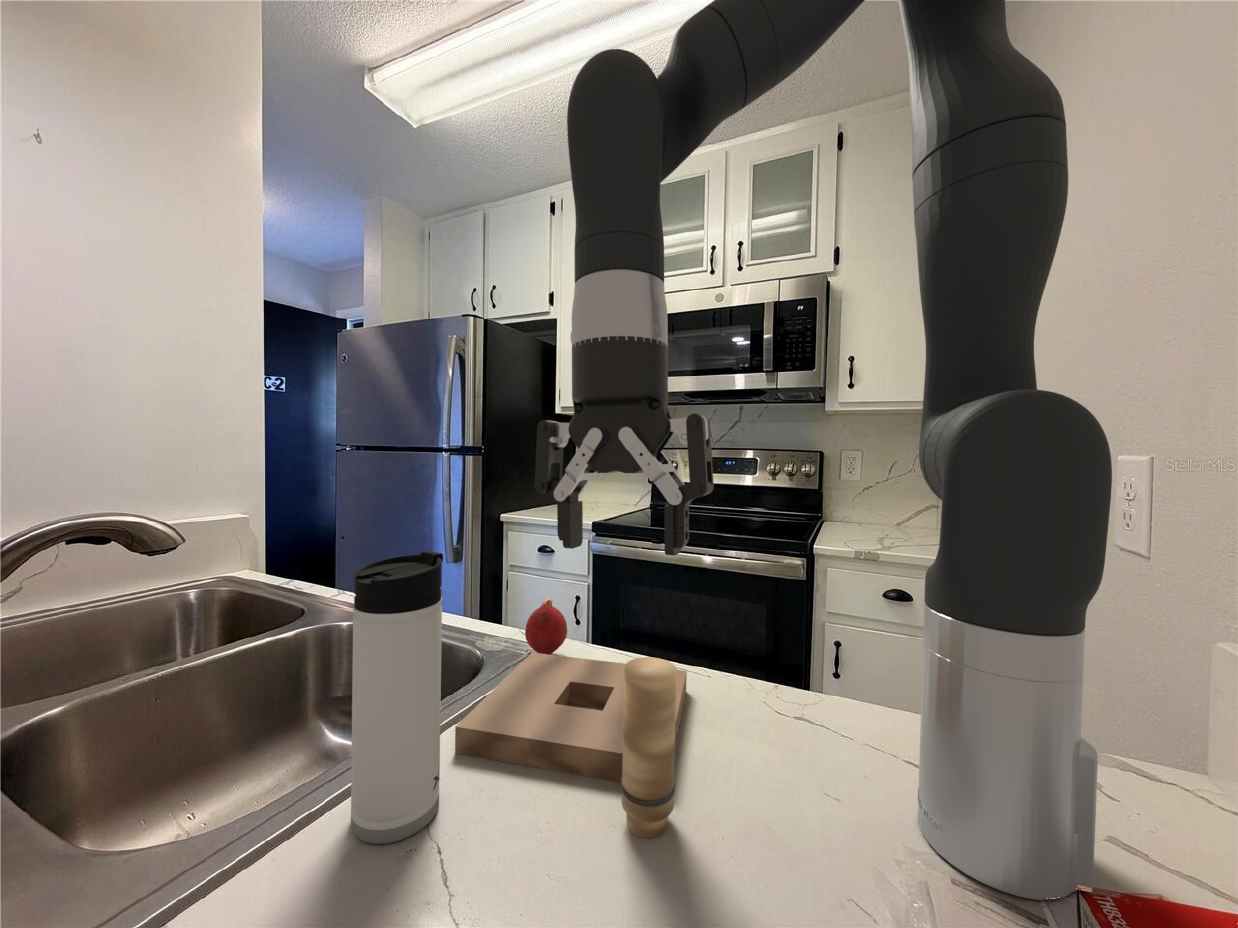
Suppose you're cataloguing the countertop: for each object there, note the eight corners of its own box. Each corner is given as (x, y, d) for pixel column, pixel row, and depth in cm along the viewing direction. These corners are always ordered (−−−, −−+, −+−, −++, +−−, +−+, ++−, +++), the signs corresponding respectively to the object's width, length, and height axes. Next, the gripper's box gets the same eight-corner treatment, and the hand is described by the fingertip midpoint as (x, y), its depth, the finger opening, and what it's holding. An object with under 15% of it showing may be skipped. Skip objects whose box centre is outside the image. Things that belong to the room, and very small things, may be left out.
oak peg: (676, 807, 39) (680, 660, 39) (670, 848, 35) (674, 683, 35) (626, 798, 40) (629, 654, 40) (614, 836, 36) (617, 676, 36)
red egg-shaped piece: (558, 667, 65) (559, 607, 65) (518, 662, 66) (519, 604, 66) (571, 650, 71) (572, 595, 71) (534, 646, 72) (534, 592, 72)
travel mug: (459, 804, 39) (463, 556, 39) (381, 860, 34) (385, 572, 33) (411, 775, 43) (414, 547, 42) (333, 822, 37) (336, 559, 37)
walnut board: (686, 691, 59) (686, 670, 59) (666, 789, 42) (667, 760, 41) (531, 671, 64) (531, 652, 64) (455, 752, 46) (455, 726, 46)
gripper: (719, 345, 39) (720, 548, 39) (563, 360, 45) (564, 538, 45) (697, 321, 32) (698, 567, 32) (515, 342, 38) (516, 552, 38)
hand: (620, 550), depth 39 cm, fingers open, 8 cm apart
